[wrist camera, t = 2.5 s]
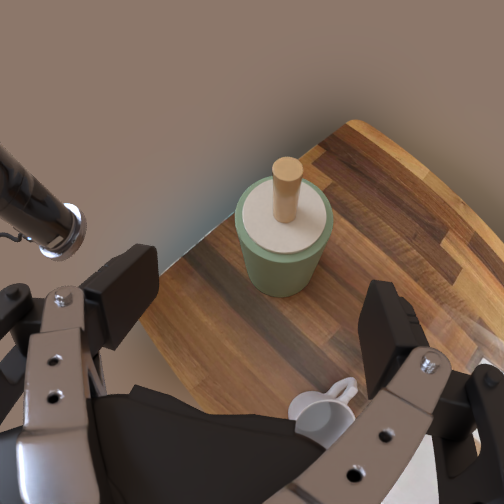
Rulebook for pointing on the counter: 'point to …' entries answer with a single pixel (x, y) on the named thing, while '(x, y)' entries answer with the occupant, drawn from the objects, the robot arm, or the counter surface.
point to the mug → (324, 412)
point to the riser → (280, 255)
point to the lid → (284, 211)
